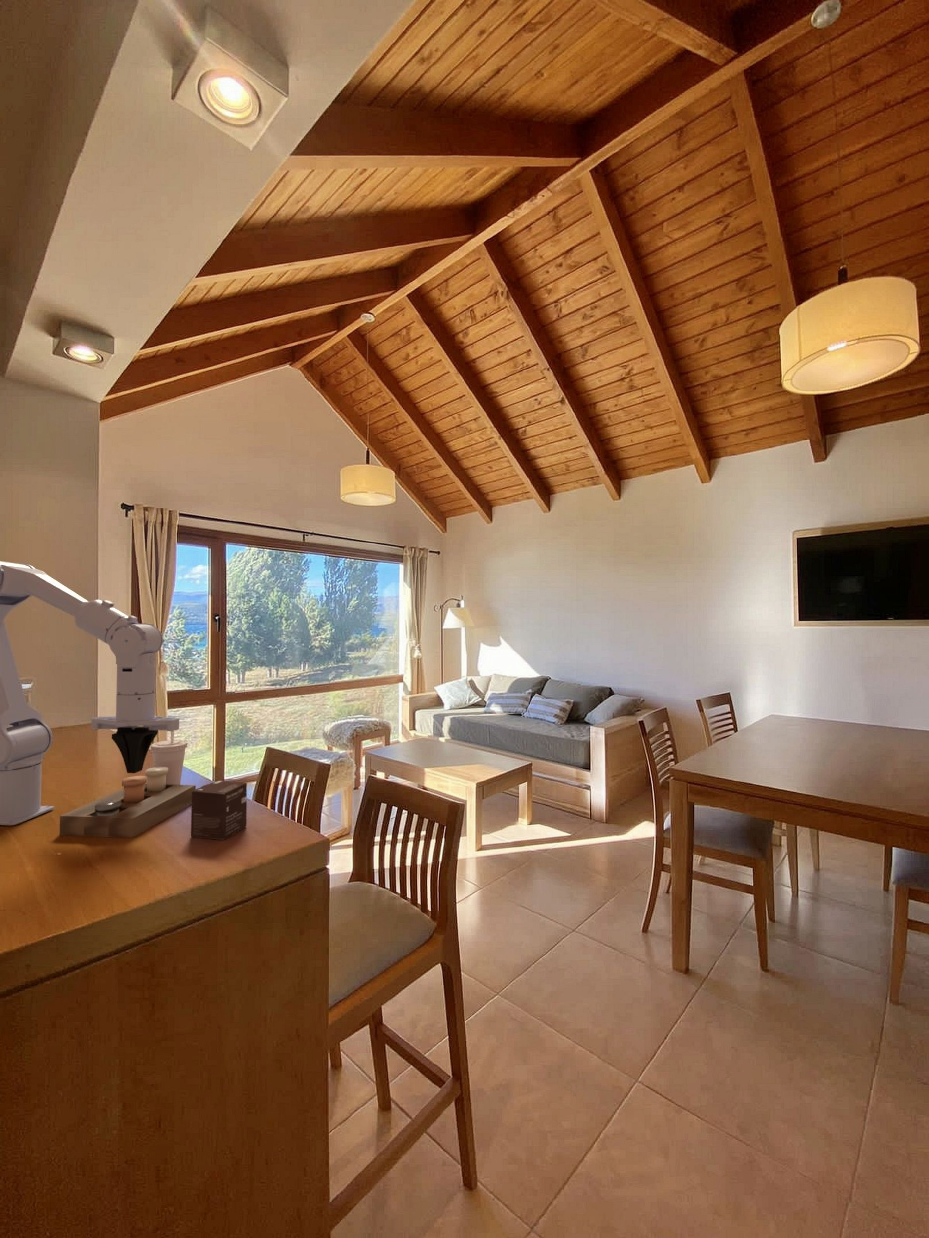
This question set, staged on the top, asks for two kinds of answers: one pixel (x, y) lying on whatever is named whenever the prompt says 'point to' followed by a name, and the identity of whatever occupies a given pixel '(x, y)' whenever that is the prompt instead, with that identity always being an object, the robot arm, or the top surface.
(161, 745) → the smoothie
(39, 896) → the top surface
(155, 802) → the socket board
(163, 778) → the plug cream
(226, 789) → the box
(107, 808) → the plug metal
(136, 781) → the plug terracotta
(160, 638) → the robot arm
